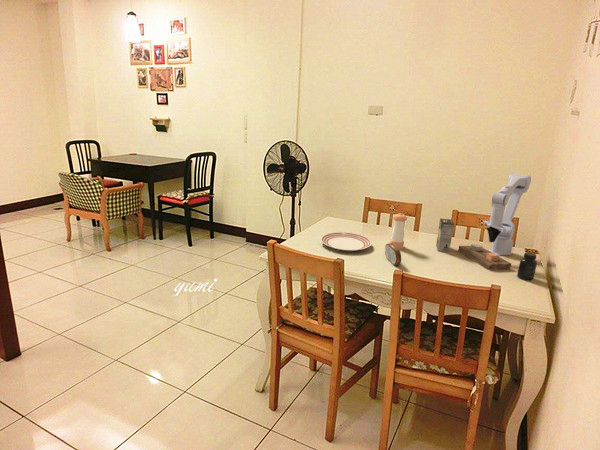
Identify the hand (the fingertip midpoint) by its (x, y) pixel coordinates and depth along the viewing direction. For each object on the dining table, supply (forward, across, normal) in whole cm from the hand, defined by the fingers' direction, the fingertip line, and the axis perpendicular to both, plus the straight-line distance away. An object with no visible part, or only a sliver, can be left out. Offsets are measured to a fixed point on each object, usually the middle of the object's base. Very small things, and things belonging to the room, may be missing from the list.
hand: (491, 241), depth 203 cm
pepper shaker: (+10, -21, -42) cm, 48 cm away
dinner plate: (+10, -25, -70) cm, 75 cm away
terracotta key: (+7, +7, -4) cm, 11 cm away
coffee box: (+10, -16, -17) cm, 25 cm away
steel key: (+7, -5, -4) cm, 10 cm away
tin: (+10, 0, -54) cm, 55 cm away
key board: (+9, +1, -4) cm, 10 cm away
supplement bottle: (+10, +24, +2) cm, 26 cm away
